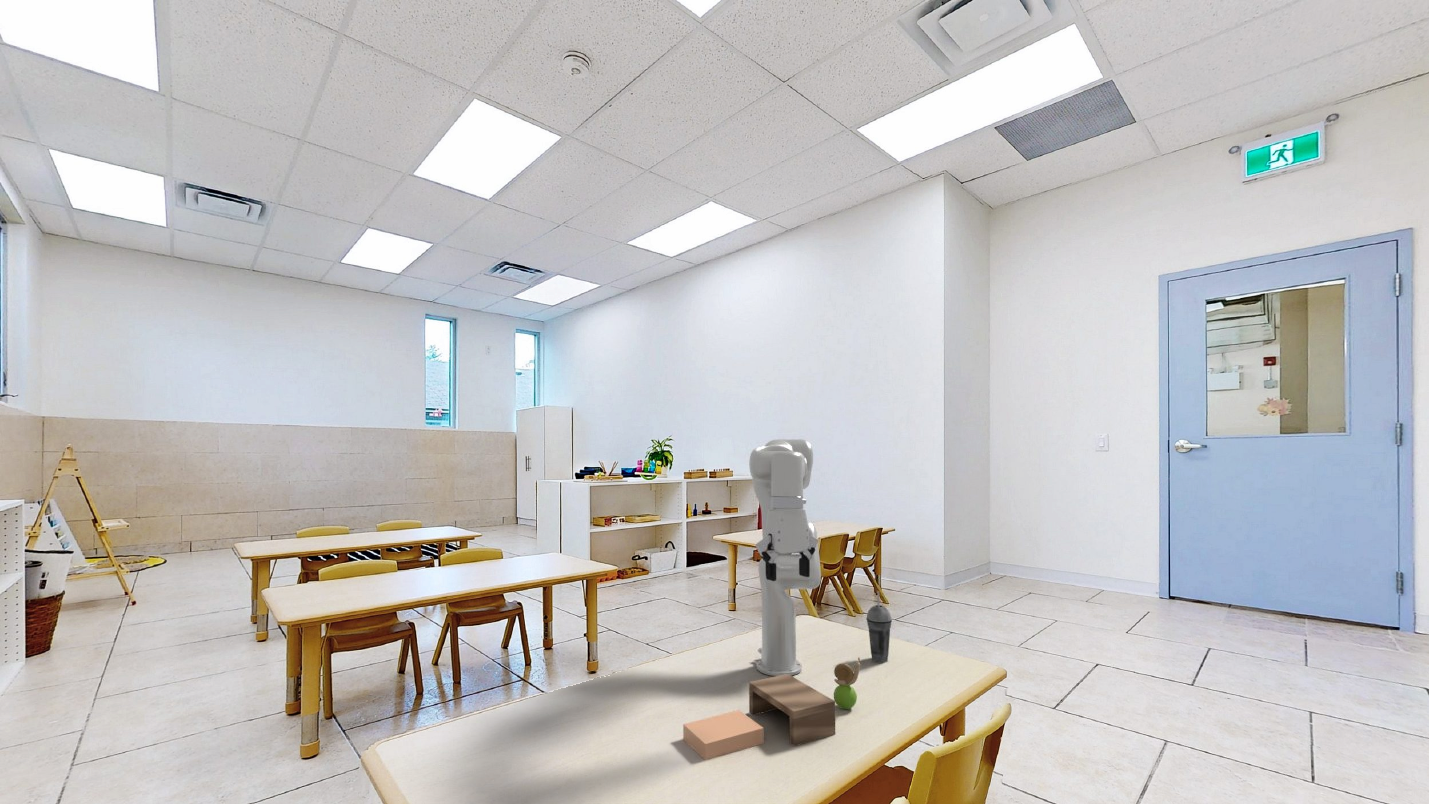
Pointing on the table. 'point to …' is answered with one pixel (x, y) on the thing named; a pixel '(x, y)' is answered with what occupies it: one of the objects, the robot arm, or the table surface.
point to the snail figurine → (846, 685)
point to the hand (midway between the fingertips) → (788, 578)
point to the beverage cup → (879, 632)
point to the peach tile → (723, 734)
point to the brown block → (794, 706)
